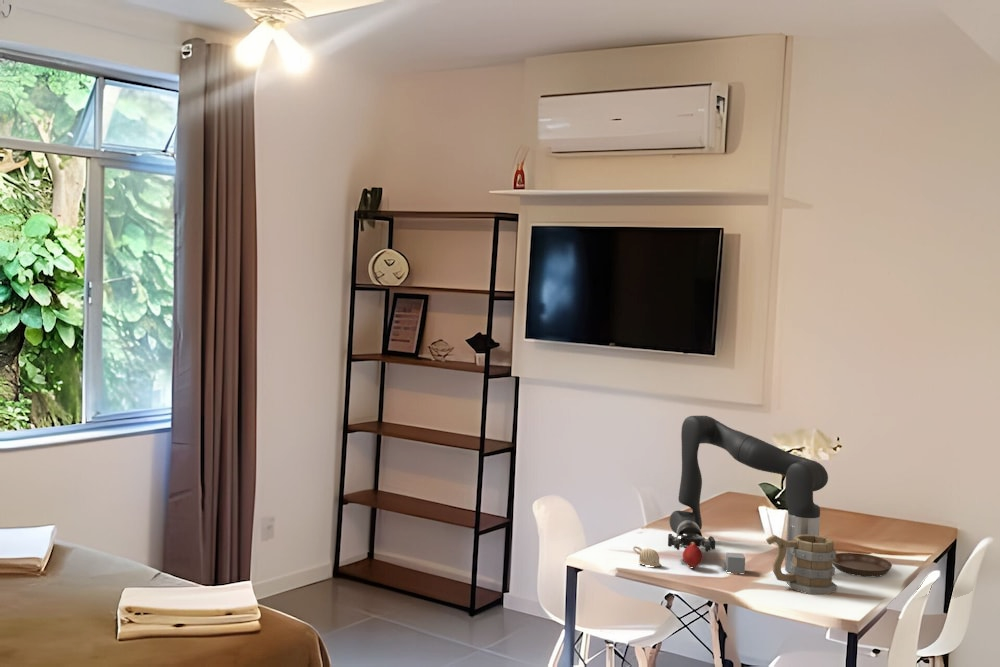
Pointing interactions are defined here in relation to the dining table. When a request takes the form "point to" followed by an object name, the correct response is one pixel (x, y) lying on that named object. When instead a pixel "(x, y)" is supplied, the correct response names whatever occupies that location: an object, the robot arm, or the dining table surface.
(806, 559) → the tankard
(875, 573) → the plant saucer
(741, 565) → the grey block
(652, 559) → the decorative ornament
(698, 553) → the red squash
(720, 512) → the dining table surface
